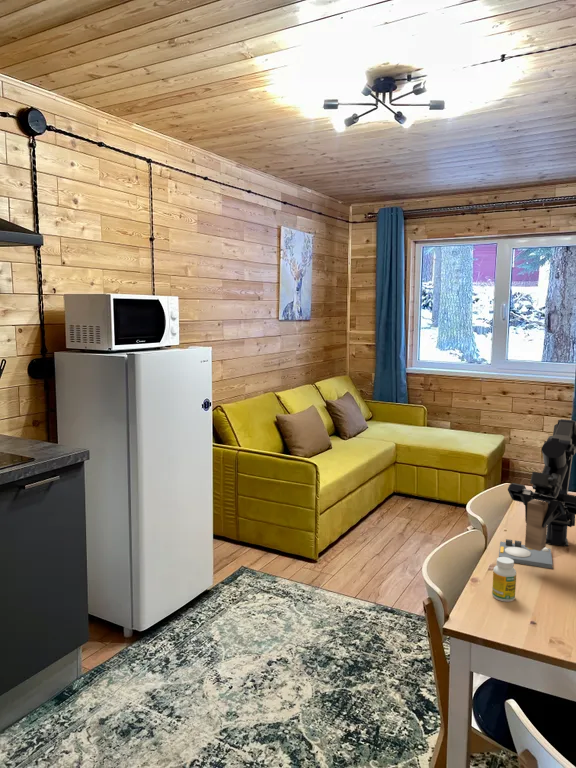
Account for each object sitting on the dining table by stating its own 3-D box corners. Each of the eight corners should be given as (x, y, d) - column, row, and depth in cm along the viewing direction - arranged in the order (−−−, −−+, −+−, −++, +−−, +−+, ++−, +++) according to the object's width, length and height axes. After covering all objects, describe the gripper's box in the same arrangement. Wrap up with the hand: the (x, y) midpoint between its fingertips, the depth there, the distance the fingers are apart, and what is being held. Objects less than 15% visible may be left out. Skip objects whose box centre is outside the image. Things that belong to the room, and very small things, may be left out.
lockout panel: (500, 545, 175) (500, 536, 175) (550, 552, 170) (551, 543, 170) (498, 560, 164) (499, 551, 164) (552, 568, 159) (552, 559, 159)
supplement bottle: (501, 590, 146) (503, 553, 145) (519, 598, 142) (521, 561, 141) (487, 595, 143) (489, 558, 142) (505, 604, 139) (508, 566, 138)
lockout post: (530, 542, 160) (533, 499, 158) (545, 547, 157) (548, 502, 156) (524, 546, 157) (527, 502, 156) (539, 551, 154) (542, 505, 153)
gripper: (512, 454, 164) (493, 501, 157) (582, 467, 151) (564, 518, 144) (521, 476, 170) (503, 521, 163) (590, 490, 157) (573, 539, 151)
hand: (534, 524), depth 155 cm, fingers closed on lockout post, 4 cm apart
